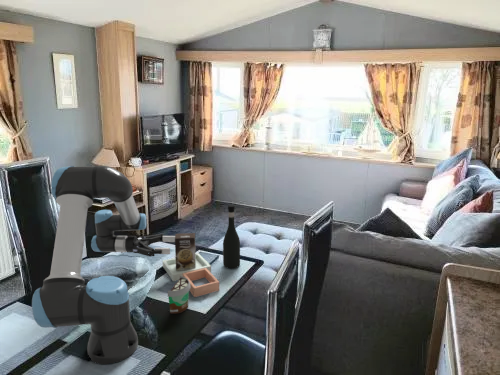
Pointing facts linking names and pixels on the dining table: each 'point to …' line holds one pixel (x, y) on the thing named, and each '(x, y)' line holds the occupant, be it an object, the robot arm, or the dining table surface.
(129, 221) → the robot arm
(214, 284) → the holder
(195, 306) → the dining table surface
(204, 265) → the tray
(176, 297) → the food container
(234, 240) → the wine bottle
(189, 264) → the coffee box
